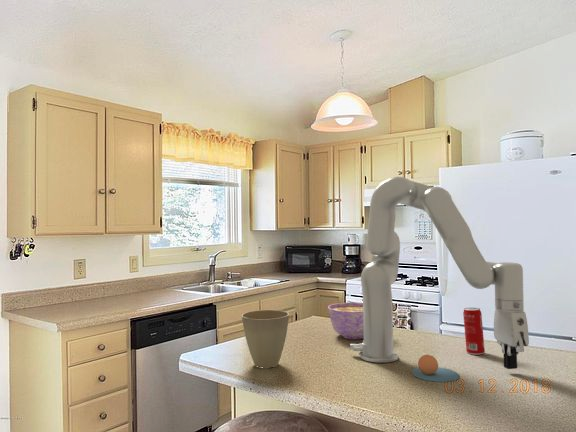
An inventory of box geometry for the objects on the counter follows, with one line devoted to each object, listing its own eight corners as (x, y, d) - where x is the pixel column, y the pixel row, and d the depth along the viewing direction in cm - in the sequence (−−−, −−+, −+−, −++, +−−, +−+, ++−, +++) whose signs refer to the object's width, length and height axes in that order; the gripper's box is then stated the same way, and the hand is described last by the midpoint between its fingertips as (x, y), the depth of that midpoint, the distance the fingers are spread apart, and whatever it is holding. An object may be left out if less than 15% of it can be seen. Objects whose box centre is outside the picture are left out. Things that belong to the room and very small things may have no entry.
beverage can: (486, 355, 150) (485, 310, 150) (465, 355, 151) (464, 309, 151) (482, 351, 156) (481, 307, 156) (462, 350, 157) (461, 306, 157)
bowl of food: (323, 331, 186) (323, 303, 186) (371, 329, 188) (370, 301, 188) (333, 344, 166) (333, 312, 166) (386, 342, 168) (386, 310, 169)
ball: (441, 356, 131) (442, 375, 130) (429, 351, 136) (430, 370, 136) (425, 358, 129) (426, 378, 128) (413, 354, 134) (414, 373, 133)
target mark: (414, 380, 127) (414, 380, 127) (410, 366, 140) (410, 365, 140) (463, 383, 124) (463, 382, 124) (454, 368, 137) (454, 367, 137)
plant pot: (262, 355, 153) (261, 308, 153) (298, 362, 144) (298, 312, 145) (232, 367, 141) (231, 315, 141) (270, 375, 132) (269, 321, 132)
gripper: (538, 309, 126) (540, 375, 126) (504, 300, 141) (505, 359, 140) (514, 310, 125) (515, 377, 124) (482, 301, 140) (483, 361, 139)
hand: (510, 367), depth 132 cm, fingers closed
